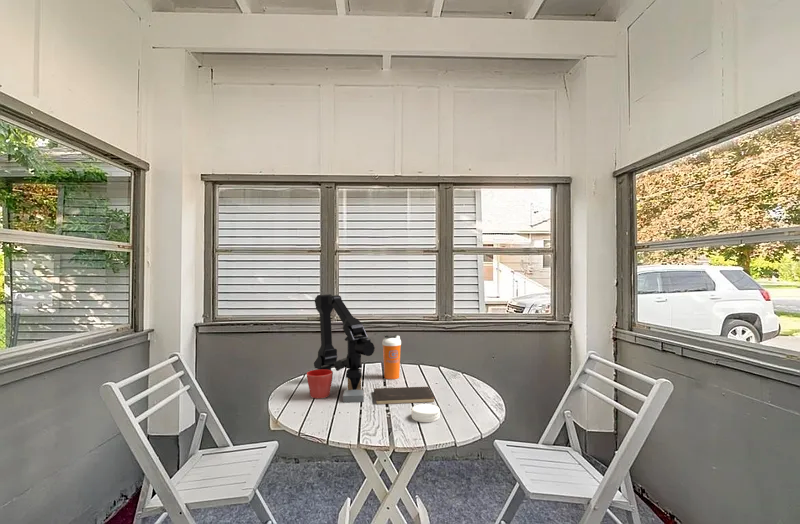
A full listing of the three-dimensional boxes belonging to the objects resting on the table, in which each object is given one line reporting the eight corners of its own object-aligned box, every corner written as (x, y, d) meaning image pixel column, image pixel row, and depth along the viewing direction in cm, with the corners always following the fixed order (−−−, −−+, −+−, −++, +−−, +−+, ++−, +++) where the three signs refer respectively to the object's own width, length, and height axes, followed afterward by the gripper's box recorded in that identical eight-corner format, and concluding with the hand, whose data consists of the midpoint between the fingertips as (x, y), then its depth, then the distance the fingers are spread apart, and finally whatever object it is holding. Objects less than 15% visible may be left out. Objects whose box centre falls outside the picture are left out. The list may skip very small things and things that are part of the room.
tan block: (348, 389, 192) (348, 376, 192) (361, 389, 193) (361, 376, 193) (347, 393, 187) (347, 380, 187) (360, 393, 187) (360, 380, 187)
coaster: (422, 411, 166) (422, 401, 166) (445, 417, 160) (445, 407, 160) (405, 418, 158) (405, 408, 158) (428, 425, 152) (428, 415, 152)
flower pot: (300, 397, 182) (300, 373, 182) (317, 390, 191) (317, 367, 191) (321, 401, 177) (321, 376, 177) (338, 394, 186) (338, 370, 186)
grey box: (344, 396, 184) (344, 390, 184) (363, 395, 184) (363, 389, 184) (343, 402, 176) (343, 396, 176) (363, 401, 176) (363, 395, 176)
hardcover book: (434, 403, 176) (434, 397, 176) (376, 405, 173) (376, 400, 173) (428, 391, 191) (428, 386, 191) (374, 393, 189) (374, 388, 189)
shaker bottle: (379, 376, 214) (379, 334, 214) (396, 374, 218) (396, 332, 218) (386, 380, 206) (386, 337, 206) (404, 378, 210) (404, 335, 210)
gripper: (336, 348, 198) (336, 383, 199) (333, 357, 180) (333, 396, 180) (361, 347, 199) (362, 382, 199) (361, 357, 181) (361, 395, 181)
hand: (354, 389), depth 190 cm, fingers closed on tan block, 5 cm apart
